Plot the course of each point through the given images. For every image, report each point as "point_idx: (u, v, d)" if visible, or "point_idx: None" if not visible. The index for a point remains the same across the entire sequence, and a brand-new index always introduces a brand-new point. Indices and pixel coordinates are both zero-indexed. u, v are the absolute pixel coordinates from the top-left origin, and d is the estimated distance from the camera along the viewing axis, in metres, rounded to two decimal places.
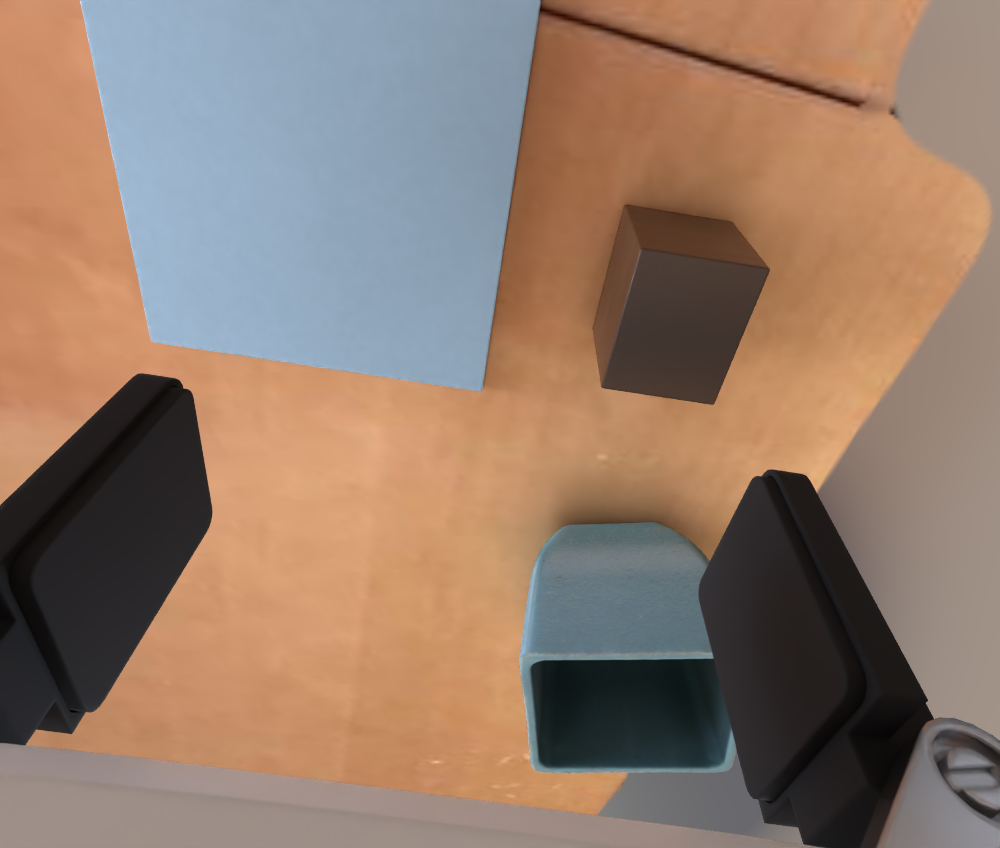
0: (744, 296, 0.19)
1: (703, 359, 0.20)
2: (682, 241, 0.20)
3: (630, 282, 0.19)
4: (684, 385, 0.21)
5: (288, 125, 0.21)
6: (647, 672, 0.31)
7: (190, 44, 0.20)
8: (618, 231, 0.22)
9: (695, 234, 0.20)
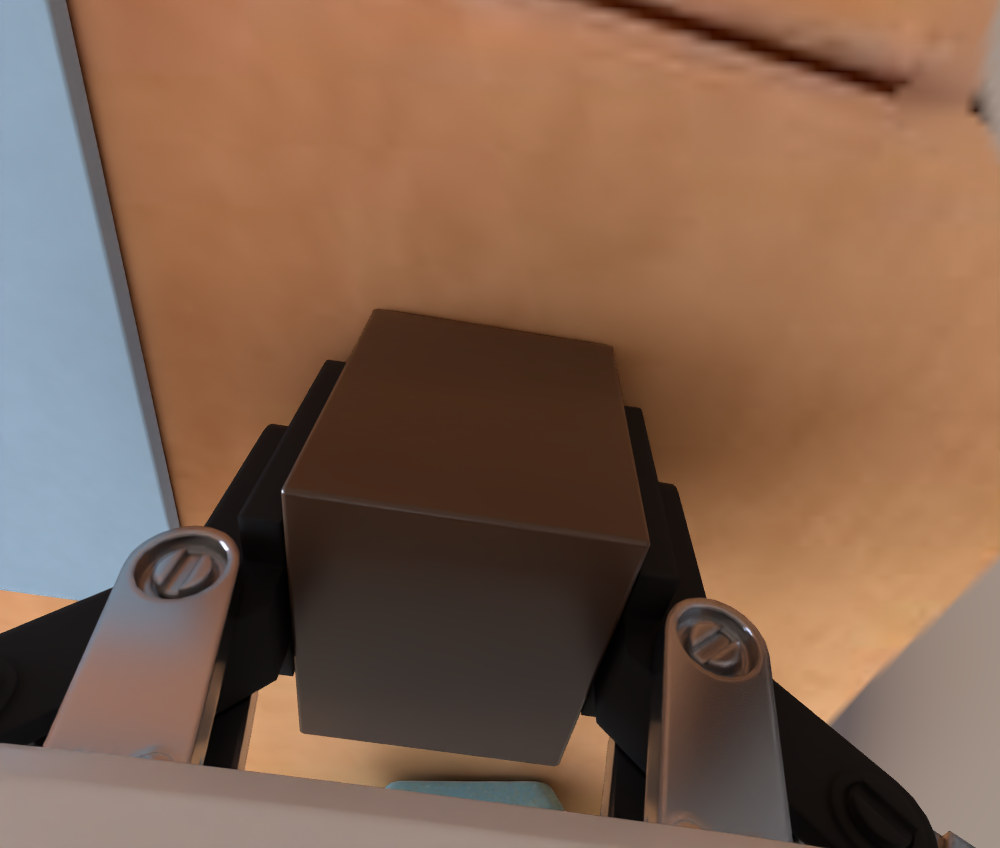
0: (591, 596, 0.07)
1: (516, 702, 0.09)
2: (437, 439, 0.08)
3: (287, 557, 0.07)
4: (483, 737, 0.09)
5: None
6: None
7: None
8: None
9: (494, 403, 0.08)
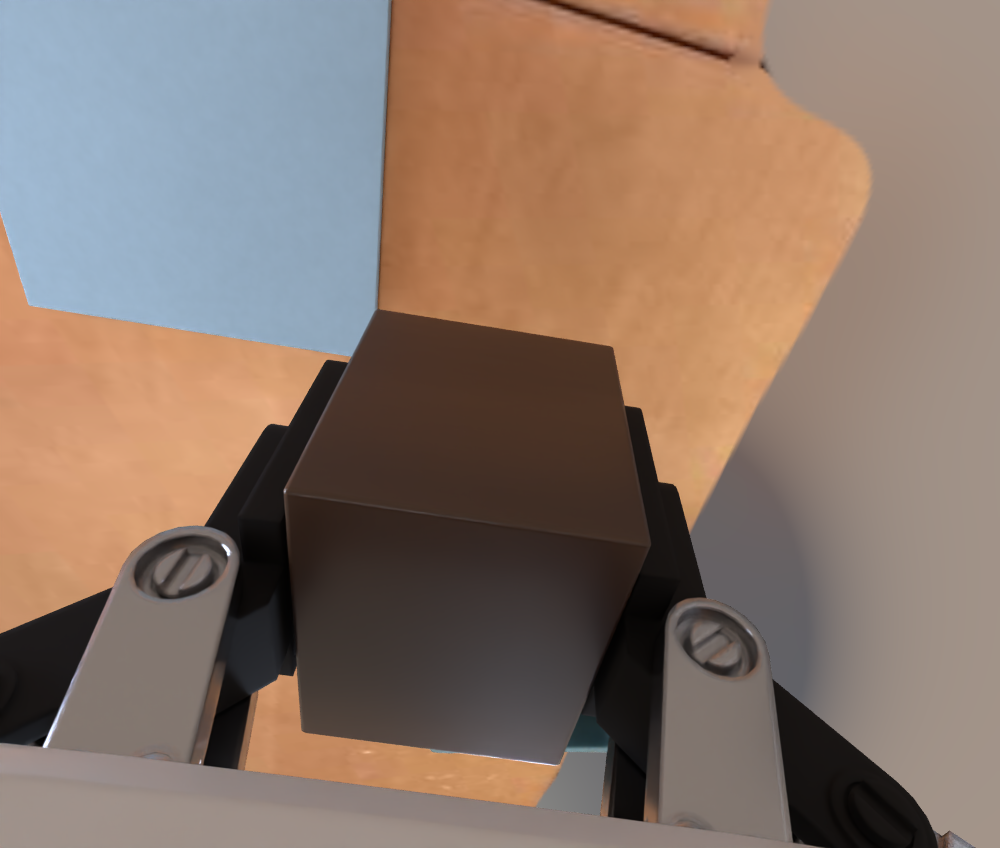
0: (592, 595, 0.07)
1: (517, 700, 0.09)
2: (438, 439, 0.08)
3: (289, 557, 0.07)
4: (484, 736, 0.09)
5: (146, 73, 0.20)
6: None
7: None
8: None
9: (495, 403, 0.08)
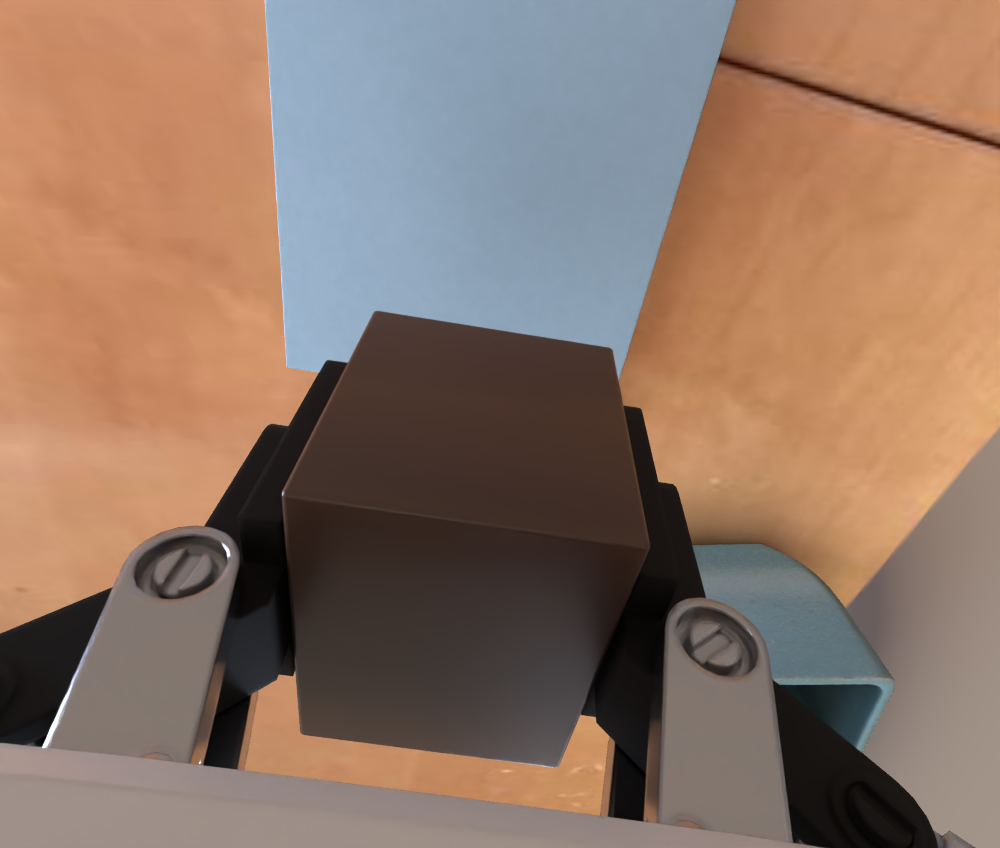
0: (591, 597, 0.07)
1: (516, 703, 0.09)
2: (436, 442, 0.08)
3: (287, 559, 0.07)
4: (483, 738, 0.09)
5: (454, 165, 0.21)
6: None
7: (369, 87, 0.20)
8: None
9: (494, 406, 0.08)
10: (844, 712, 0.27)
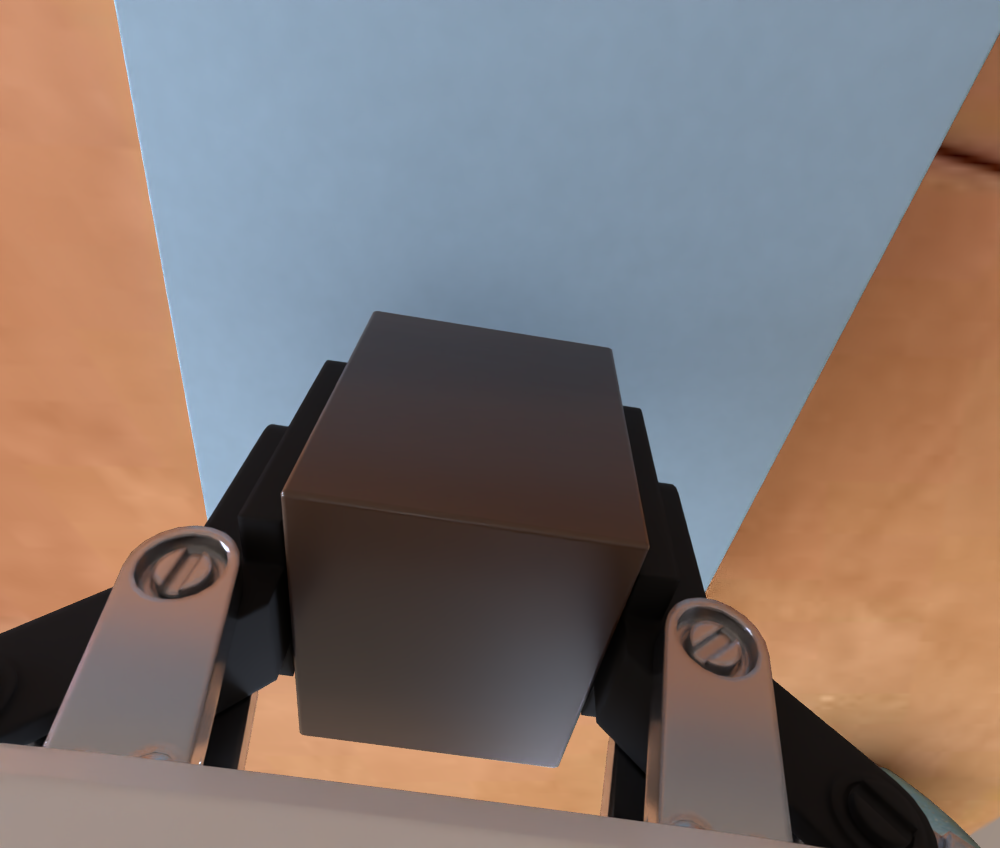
0: (590, 598, 0.07)
1: (516, 702, 0.09)
2: (436, 441, 0.08)
3: (287, 559, 0.07)
4: (483, 739, 0.09)
5: (463, 311, 0.13)
6: None
7: (317, 194, 0.12)
8: None
9: (493, 406, 0.08)
10: None
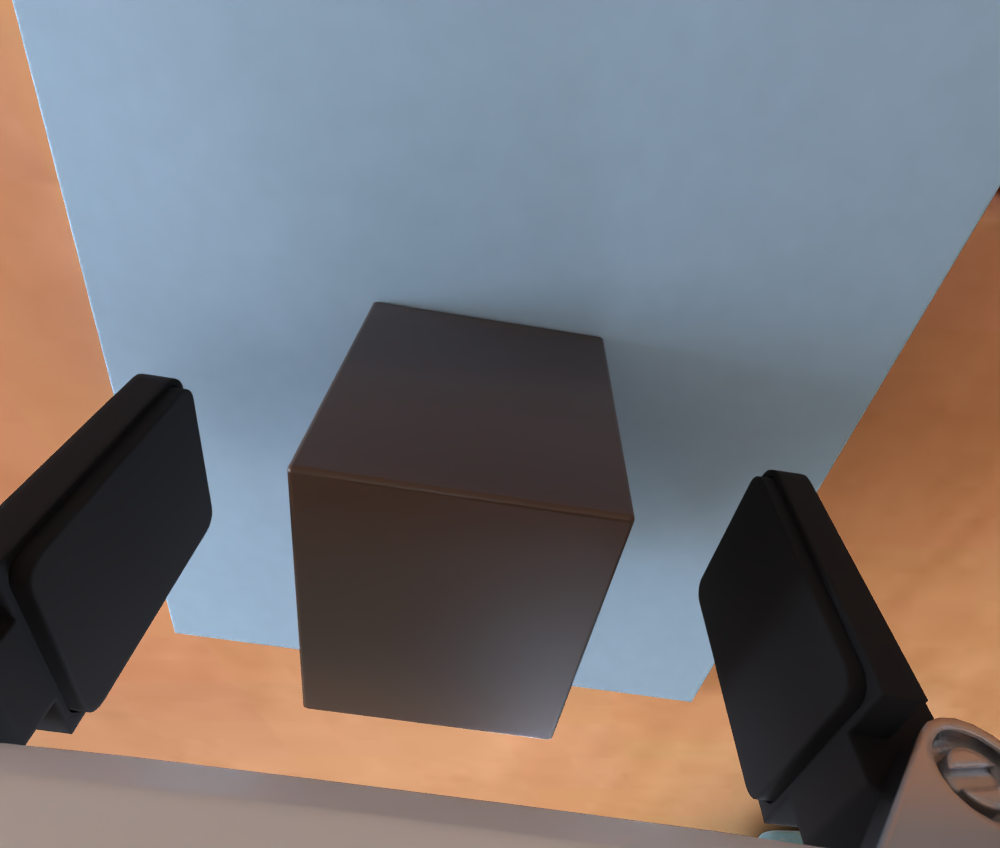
0: (580, 569, 0.08)
1: (510, 674, 0.09)
2: (433, 422, 0.08)
3: (292, 533, 0.08)
4: (479, 711, 0.10)
5: None
6: None
7: (269, 236, 0.10)
8: None
9: (488, 390, 0.09)
10: None
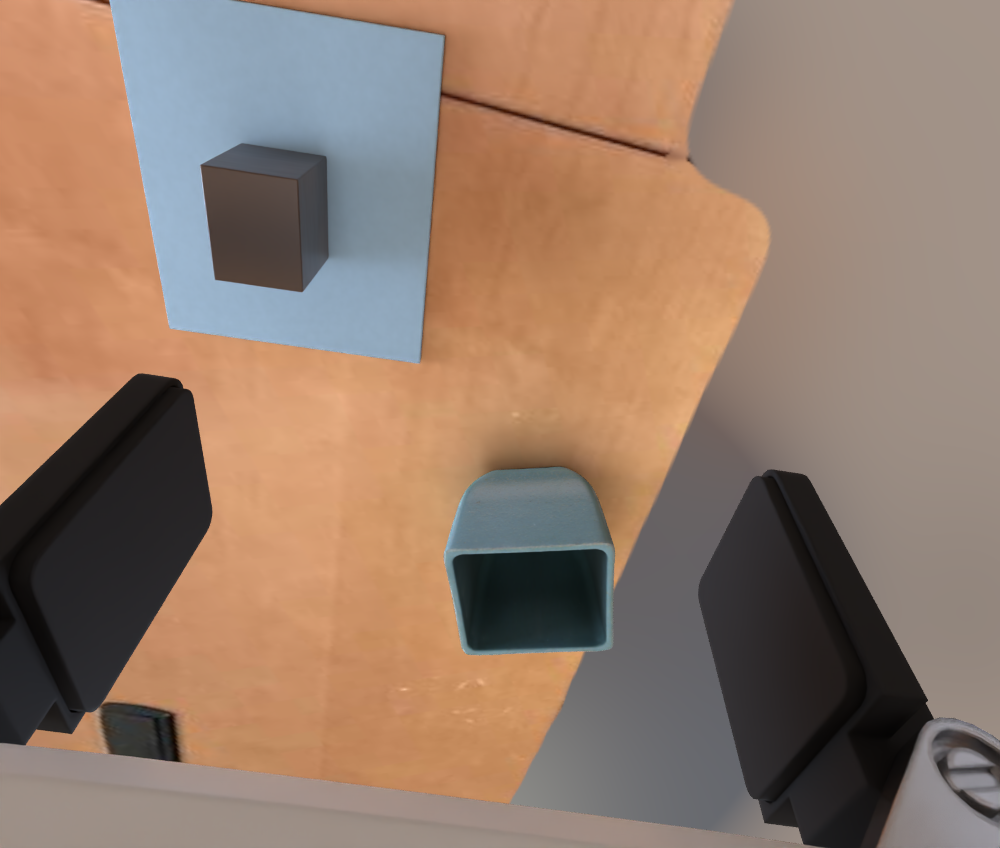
0: (288, 201, 0.26)
1: (279, 254, 0.27)
2: (247, 163, 0.26)
3: (203, 192, 0.26)
4: (274, 276, 0.28)
5: None
6: (557, 584, 0.39)
7: (201, 117, 0.28)
8: None
9: (270, 160, 0.27)
10: (602, 584, 0.35)
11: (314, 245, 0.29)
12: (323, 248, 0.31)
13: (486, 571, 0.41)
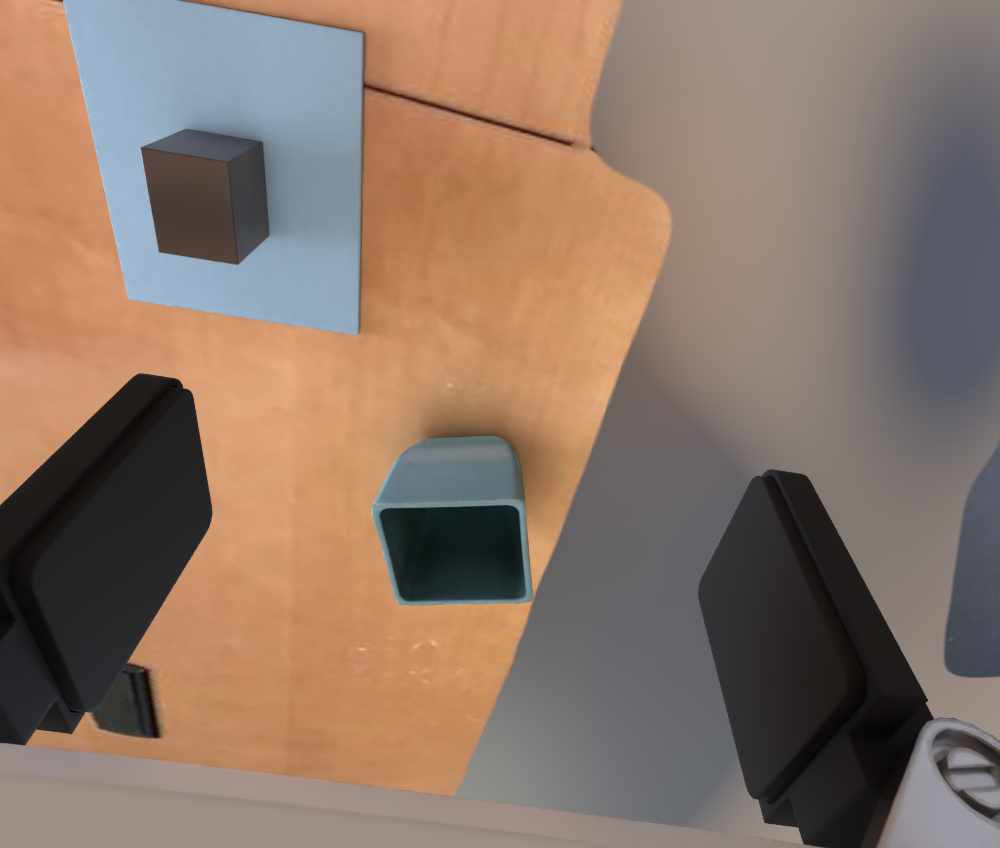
0: (219, 181, 0.29)
1: (215, 229, 0.30)
2: (184, 146, 0.29)
3: (144, 172, 0.29)
4: (211, 249, 0.31)
5: None
6: (489, 544, 0.43)
7: (148, 105, 0.31)
8: None
9: (207, 144, 0.30)
10: None
11: (251, 222, 0.32)
12: (262, 226, 0.34)
13: (425, 532, 0.44)
